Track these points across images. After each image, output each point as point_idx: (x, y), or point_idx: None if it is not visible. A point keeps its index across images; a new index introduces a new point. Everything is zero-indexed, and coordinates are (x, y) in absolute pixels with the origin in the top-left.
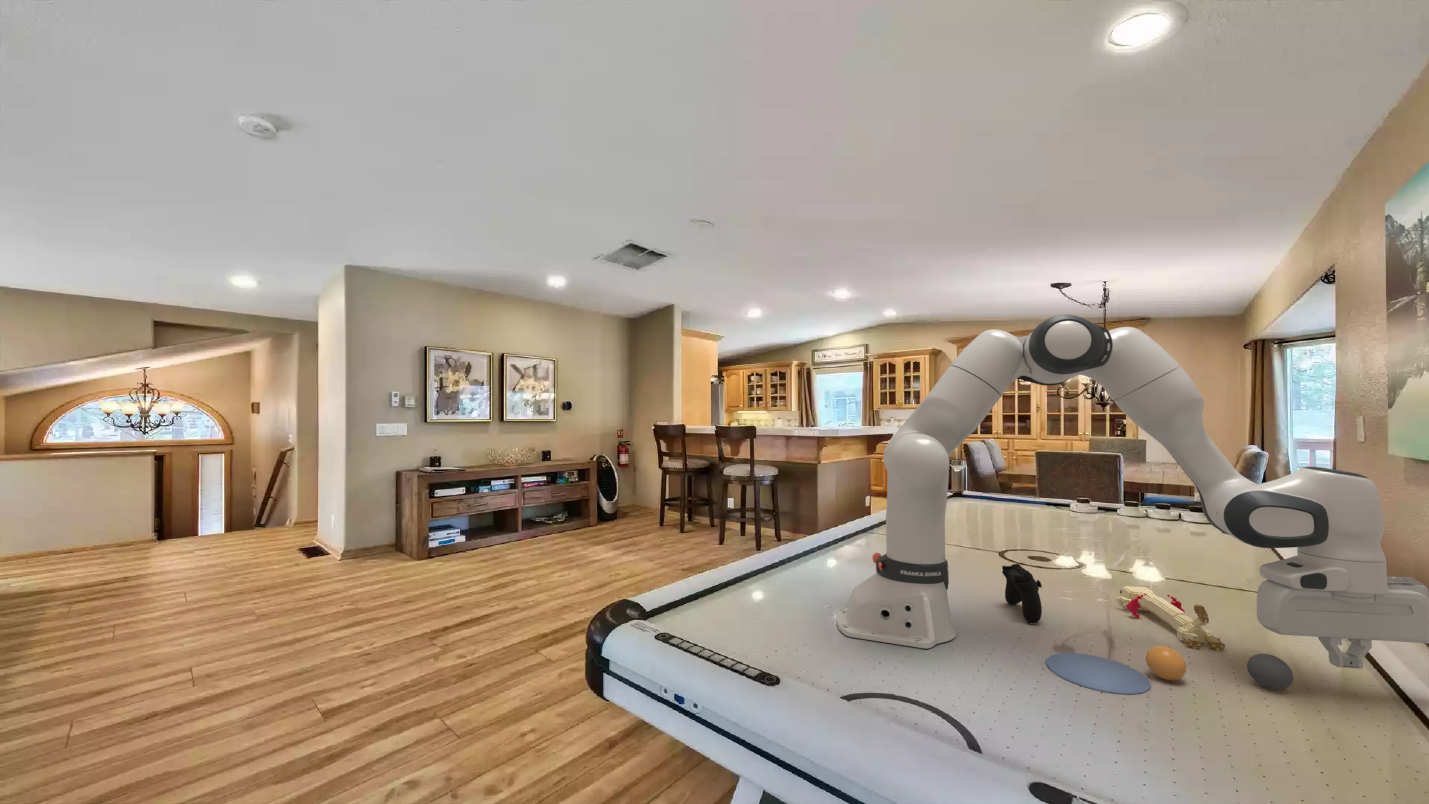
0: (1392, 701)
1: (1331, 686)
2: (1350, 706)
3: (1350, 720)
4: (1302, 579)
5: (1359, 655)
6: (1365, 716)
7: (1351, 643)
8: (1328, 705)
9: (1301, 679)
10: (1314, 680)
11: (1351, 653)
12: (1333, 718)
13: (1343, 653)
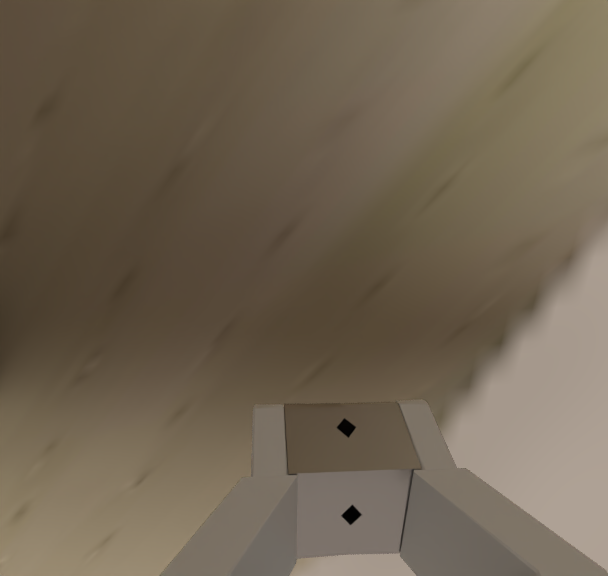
0: (485, 345)
1: (313, 219)
2: (210, 441)
3: (106, 553)
4: None
5: (418, 573)
6: (200, 511)
7: (511, 549)
8: (106, 454)
9: (190, 139)
10: (274, 138)
11: (416, 512)
12: (45, 554)
13: (359, 493)
